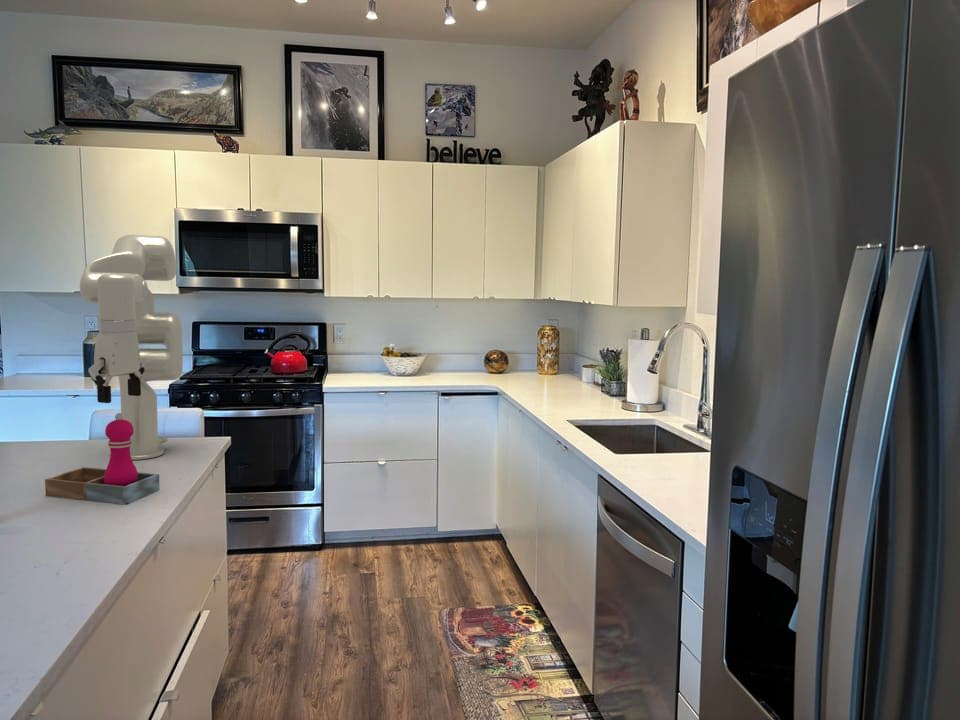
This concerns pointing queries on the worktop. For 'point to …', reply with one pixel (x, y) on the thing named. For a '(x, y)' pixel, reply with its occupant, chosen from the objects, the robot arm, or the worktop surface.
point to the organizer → (99, 486)
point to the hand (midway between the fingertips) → (119, 398)
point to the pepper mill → (120, 453)
